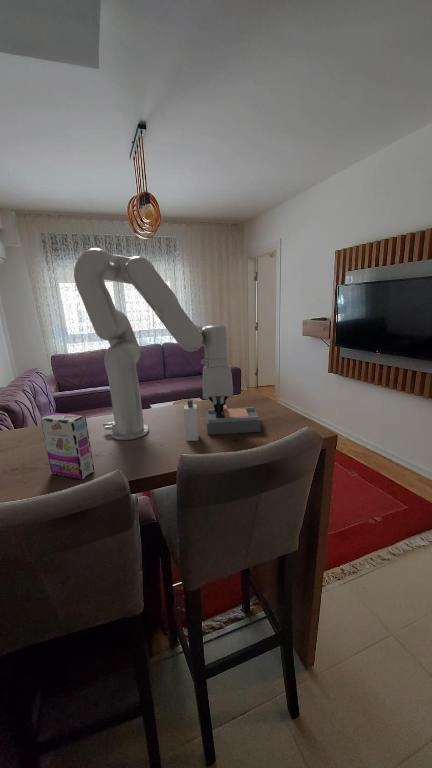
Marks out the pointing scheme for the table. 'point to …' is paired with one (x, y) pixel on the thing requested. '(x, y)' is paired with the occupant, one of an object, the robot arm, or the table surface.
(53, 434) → the candy bar box
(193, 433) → the plug
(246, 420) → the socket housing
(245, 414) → the shutter
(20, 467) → the table surface
